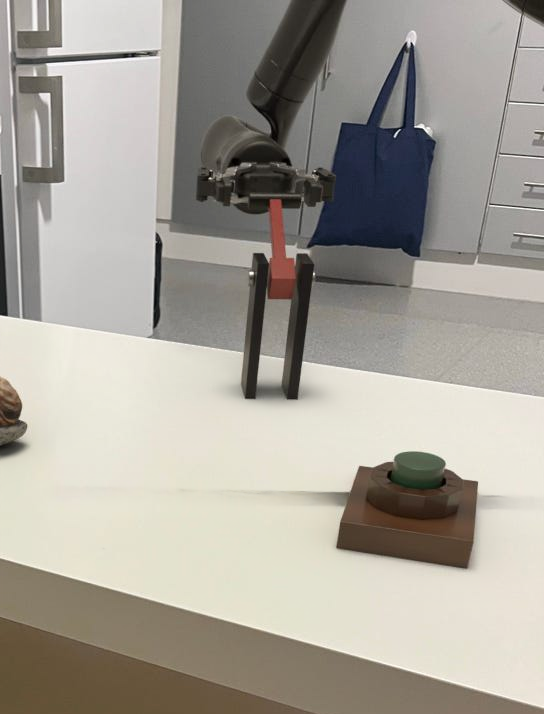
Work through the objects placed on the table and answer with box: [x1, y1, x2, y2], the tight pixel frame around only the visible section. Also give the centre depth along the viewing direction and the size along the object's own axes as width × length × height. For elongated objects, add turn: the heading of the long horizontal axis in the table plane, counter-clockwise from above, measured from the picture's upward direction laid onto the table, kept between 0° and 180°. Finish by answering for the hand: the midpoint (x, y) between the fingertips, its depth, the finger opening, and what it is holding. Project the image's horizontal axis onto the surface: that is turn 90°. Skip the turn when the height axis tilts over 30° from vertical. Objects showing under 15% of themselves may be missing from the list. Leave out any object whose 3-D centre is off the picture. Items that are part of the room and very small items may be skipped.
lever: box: [248, 192, 303, 300], centre depth 95 cm, size 13×5×2 cm, turn 176°
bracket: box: [240, 252, 316, 401], centre depth 96 cm, size 10×8×14 cm
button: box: [390, 450, 447, 490], centre depth 74 cm, size 4×4×2 cm
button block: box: [335, 461, 479, 570], centre depth 75 cm, size 11×9×4 cm
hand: (270, 195), depth 101 cm, fingers open, 8 cm apart
